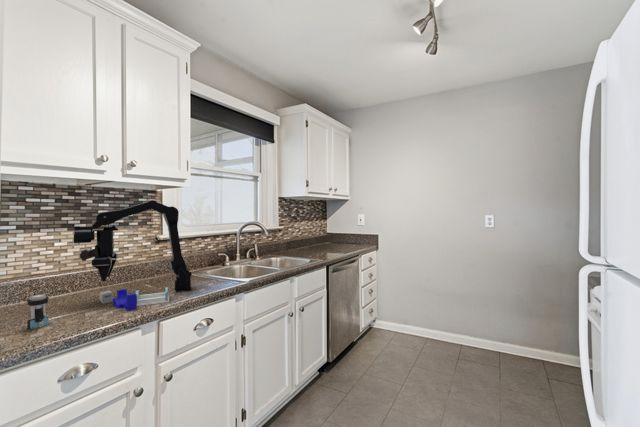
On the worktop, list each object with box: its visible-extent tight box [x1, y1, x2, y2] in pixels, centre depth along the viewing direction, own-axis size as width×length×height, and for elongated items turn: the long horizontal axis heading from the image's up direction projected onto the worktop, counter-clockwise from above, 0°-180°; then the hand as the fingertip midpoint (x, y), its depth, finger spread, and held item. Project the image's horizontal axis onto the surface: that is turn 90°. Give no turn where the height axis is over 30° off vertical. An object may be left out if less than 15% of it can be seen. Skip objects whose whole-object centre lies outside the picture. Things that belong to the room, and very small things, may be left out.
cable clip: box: [112, 288, 138, 312], centre depth 121 cm, size 12×4×6 cm, turn 50°
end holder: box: [134, 286, 170, 307], centre depth 129 cm, size 13×10×4 cm
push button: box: [26, 294, 54, 330], centre depth 102 cm, size 7×5×10 cm
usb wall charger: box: [98, 290, 114, 304], centre depth 129 cm, size 4×7×4 cm, turn 46°
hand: (105, 279), depth 129 cm, fingers open, 9 cm apart
